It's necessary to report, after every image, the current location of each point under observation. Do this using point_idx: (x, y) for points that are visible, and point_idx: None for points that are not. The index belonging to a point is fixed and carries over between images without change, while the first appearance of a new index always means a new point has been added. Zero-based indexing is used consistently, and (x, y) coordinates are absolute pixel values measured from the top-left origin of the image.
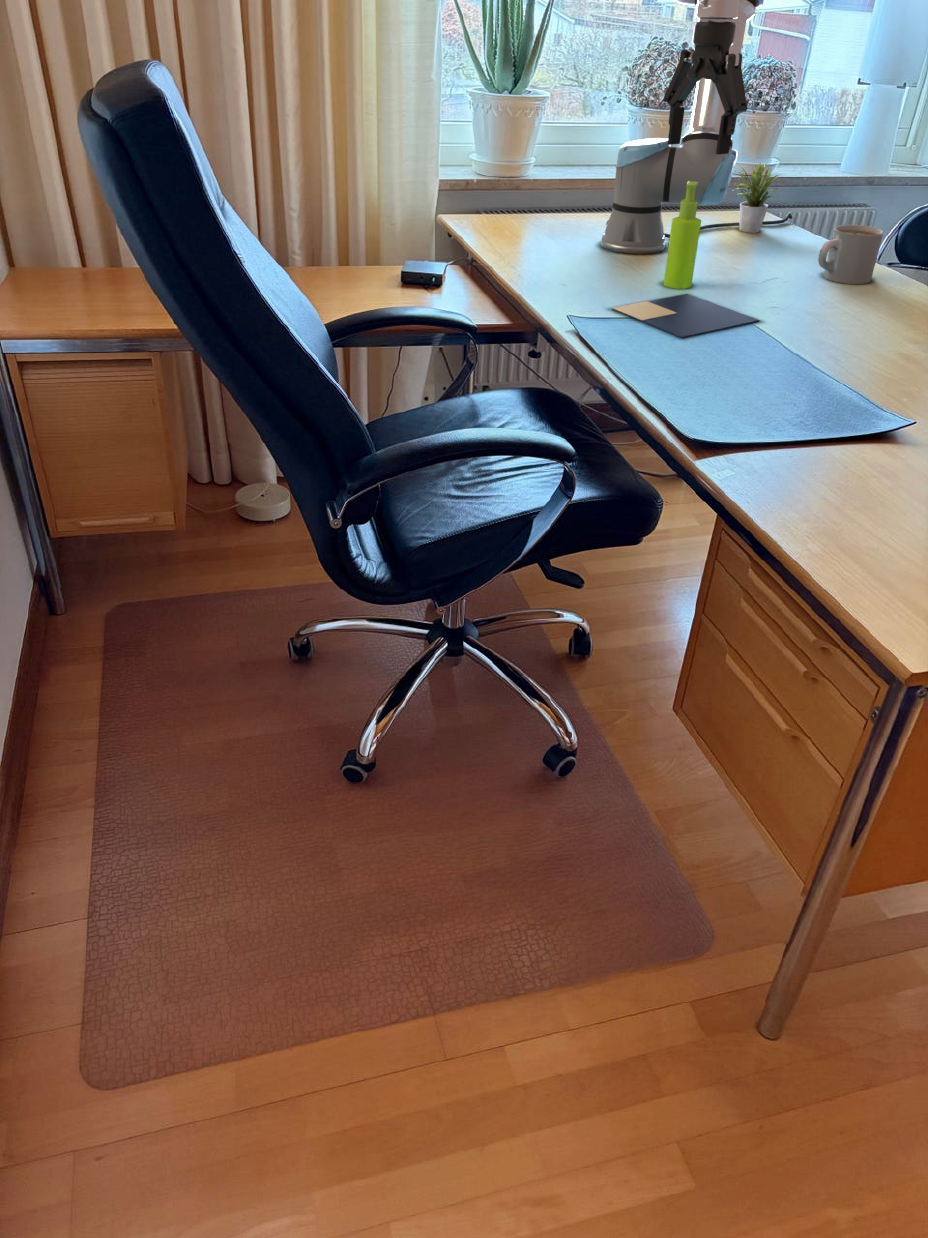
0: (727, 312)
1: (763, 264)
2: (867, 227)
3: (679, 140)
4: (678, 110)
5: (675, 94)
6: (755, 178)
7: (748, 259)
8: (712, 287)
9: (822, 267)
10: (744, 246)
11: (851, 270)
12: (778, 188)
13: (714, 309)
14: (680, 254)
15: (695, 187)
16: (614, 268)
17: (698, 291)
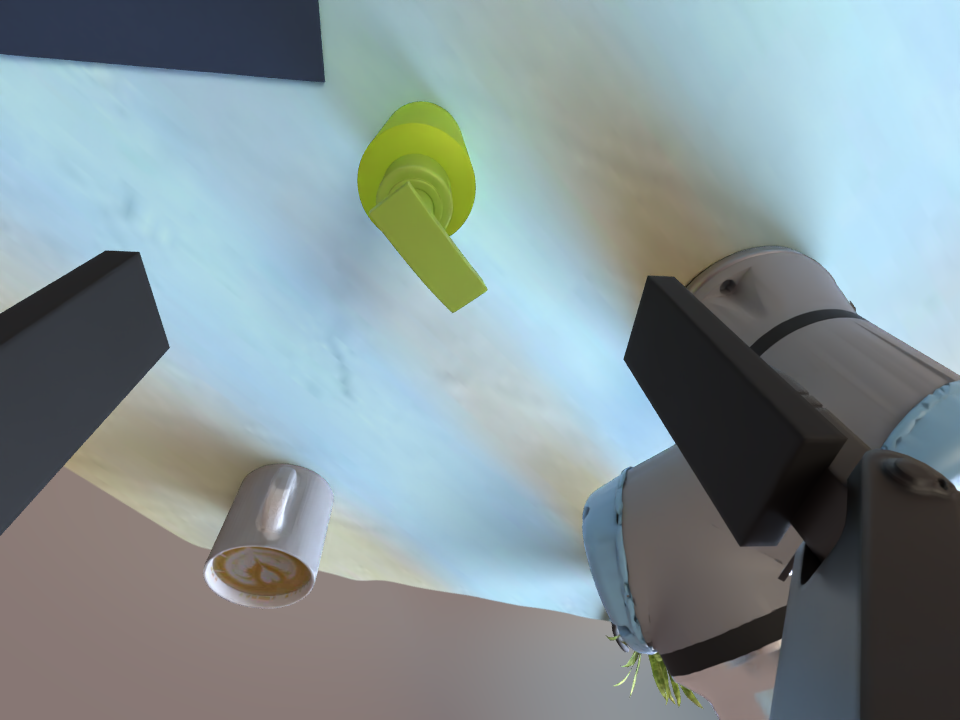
0: (96, 26)
1: (445, 444)
2: (280, 602)
3: (631, 362)
4: (757, 465)
5: (954, 577)
6: (658, 655)
7: (491, 447)
8: (356, 215)
9: (285, 466)
10: (562, 499)
11: (241, 491)
12: (625, 665)
13: (139, 14)
14: (388, 121)
15: (369, 212)
16: (657, 116)
17: (342, 149)
